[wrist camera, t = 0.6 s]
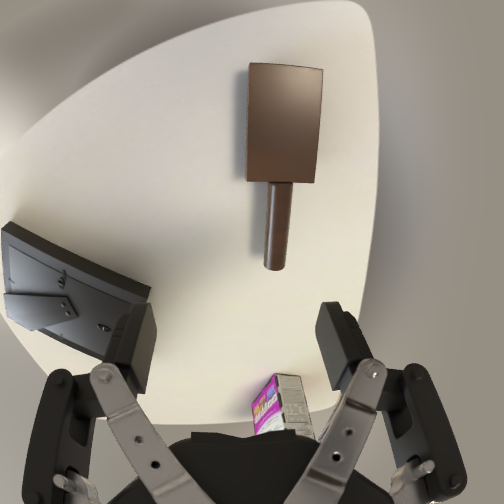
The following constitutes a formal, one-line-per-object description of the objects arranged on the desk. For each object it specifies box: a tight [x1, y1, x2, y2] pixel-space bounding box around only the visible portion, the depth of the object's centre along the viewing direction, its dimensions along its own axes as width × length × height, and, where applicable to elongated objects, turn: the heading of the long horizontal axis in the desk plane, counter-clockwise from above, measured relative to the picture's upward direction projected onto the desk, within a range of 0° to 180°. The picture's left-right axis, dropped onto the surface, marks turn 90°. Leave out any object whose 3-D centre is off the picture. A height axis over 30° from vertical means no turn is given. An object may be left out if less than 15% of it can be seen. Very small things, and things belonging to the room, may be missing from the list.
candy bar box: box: [252, 374, 315, 440], centre depth 37 cm, size 11×5×16 cm, turn 161°
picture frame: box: [1, 221, 151, 361], centre depth 29 cm, size 16×3×21 cm
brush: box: [245, 63, 323, 271], centre depth 22 cm, size 18×6×4 cm, turn 178°
